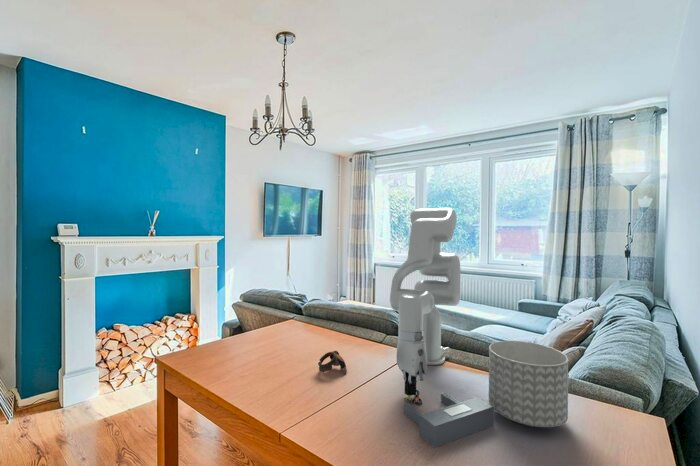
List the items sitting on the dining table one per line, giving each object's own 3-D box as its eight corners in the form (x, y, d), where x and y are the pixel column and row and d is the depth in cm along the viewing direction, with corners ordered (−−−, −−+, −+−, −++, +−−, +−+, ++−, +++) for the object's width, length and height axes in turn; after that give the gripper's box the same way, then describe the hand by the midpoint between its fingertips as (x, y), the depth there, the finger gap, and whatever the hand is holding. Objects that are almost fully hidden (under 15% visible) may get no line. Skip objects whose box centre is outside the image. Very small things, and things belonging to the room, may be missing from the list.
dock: (450, 399, 101) (451, 381, 101) (493, 425, 88) (493, 405, 88) (396, 415, 92) (396, 396, 92) (434, 447, 79) (434, 425, 79)
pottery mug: (348, 379, 116) (337, 361, 114) (324, 389, 117) (313, 371, 115) (350, 358, 127) (339, 340, 126) (328, 367, 129) (318, 350, 127)
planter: (537, 448, 78) (538, 371, 78) (473, 409, 95) (474, 346, 95) (583, 427, 87) (584, 357, 87) (517, 395, 104) (517, 337, 104)
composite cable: (412, 391, 107) (412, 383, 107) (427, 394, 105) (427, 386, 105) (404, 405, 98) (404, 397, 98) (420, 409, 96) (420, 400, 96)
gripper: (436, 340, 98) (436, 402, 98) (406, 326, 111) (405, 381, 111) (416, 343, 95) (415, 408, 95) (387, 329, 108) (386, 386, 108)
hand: (410, 393), depth 103 cm, fingers closed
